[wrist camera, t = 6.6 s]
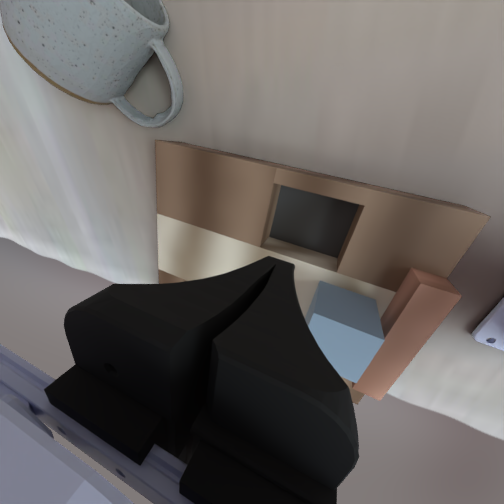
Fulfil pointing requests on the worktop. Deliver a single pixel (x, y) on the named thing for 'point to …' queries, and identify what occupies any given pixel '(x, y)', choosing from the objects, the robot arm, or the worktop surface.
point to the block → (345, 328)
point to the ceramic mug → (94, 48)
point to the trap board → (315, 240)
